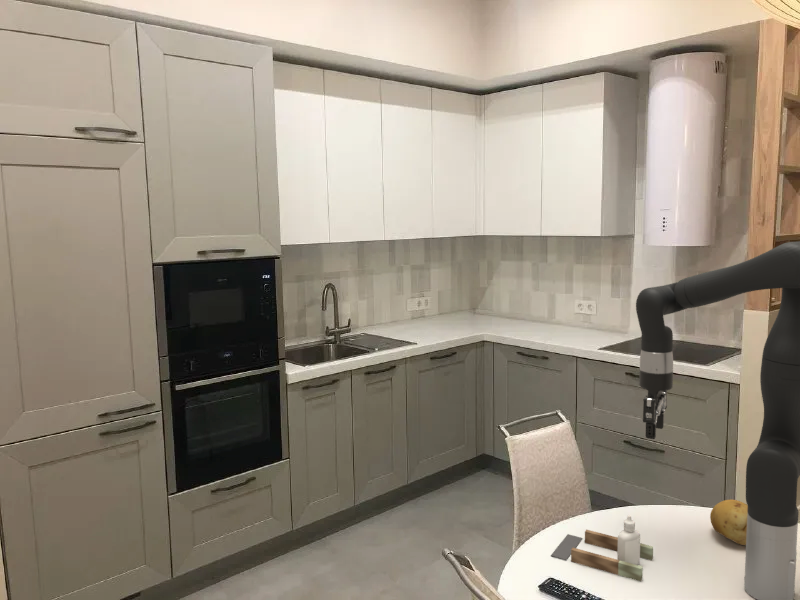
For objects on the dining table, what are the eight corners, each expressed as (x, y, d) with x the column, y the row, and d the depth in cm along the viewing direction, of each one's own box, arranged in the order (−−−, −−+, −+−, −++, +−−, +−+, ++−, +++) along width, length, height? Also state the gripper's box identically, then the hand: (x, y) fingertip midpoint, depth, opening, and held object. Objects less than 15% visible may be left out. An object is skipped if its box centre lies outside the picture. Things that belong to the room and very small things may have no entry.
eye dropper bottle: (644, 569, 145) (645, 520, 144) (619, 569, 145) (620, 520, 144) (637, 559, 150) (638, 511, 148) (613, 559, 150) (614, 512, 148)
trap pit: (582, 539, 160) (582, 537, 160) (566, 560, 150) (566, 559, 150) (567, 535, 162) (567, 534, 162) (550, 556, 152) (550, 555, 152)
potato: (734, 525, 164) (735, 489, 163) (770, 550, 152) (772, 510, 151) (699, 530, 162) (700, 493, 161) (732, 555, 150) (734, 515, 149)
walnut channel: (652, 558, 150) (653, 546, 149) (641, 581, 140) (641, 569, 140) (586, 540, 159) (586, 529, 158) (571, 561, 149) (571, 549, 149)
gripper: (666, 376, 144) (664, 444, 146) (678, 364, 156) (676, 427, 158) (632, 373, 148) (631, 439, 150) (647, 361, 160) (645, 422, 162)
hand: (654, 433), depth 154 cm, fingers open, 8 cm apart
